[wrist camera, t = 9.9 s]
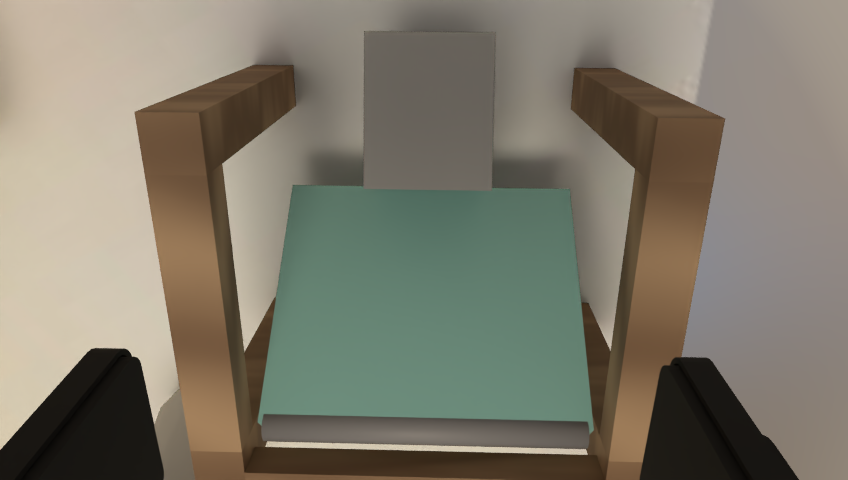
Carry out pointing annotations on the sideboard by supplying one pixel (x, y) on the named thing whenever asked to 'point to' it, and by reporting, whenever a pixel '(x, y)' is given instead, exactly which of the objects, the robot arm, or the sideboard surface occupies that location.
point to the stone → (428, 110)
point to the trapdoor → (428, 320)
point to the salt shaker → (174, 440)
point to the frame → (218, 301)
